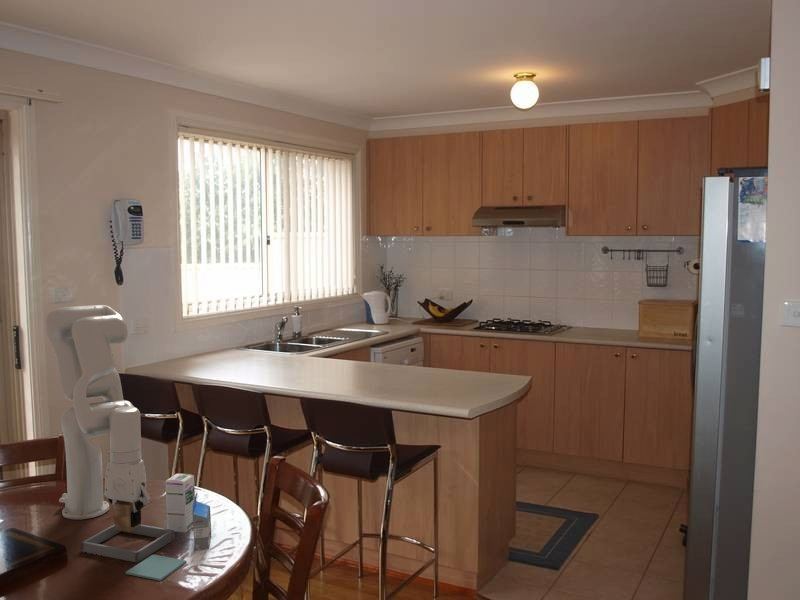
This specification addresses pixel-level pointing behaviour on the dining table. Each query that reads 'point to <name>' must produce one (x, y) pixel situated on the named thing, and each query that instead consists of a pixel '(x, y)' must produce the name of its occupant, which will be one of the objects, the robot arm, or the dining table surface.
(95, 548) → the grey rectangular frame
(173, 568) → the mat
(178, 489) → the syrup box
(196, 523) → the label tape box
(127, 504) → the wooden block
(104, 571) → the dining table surface
